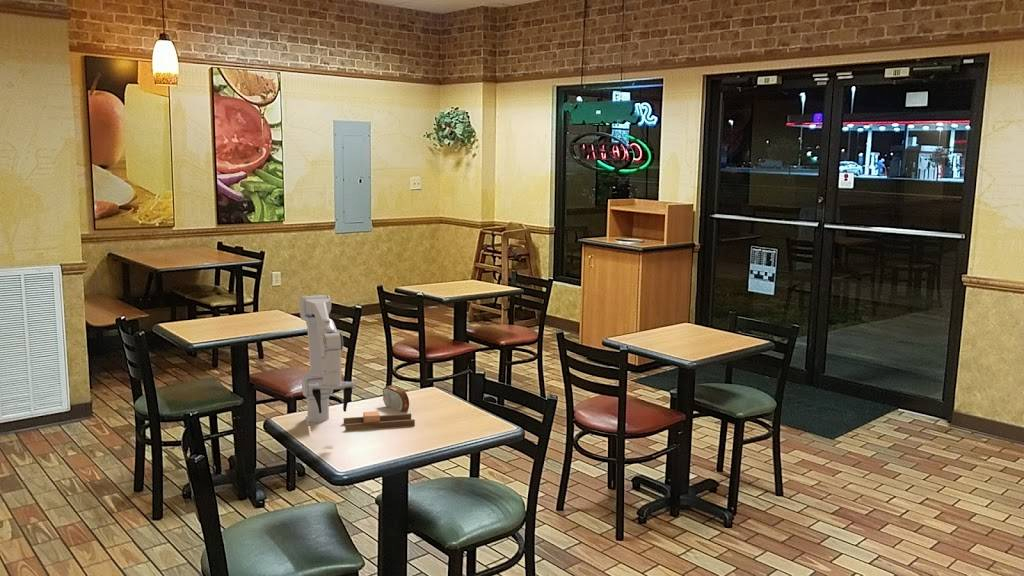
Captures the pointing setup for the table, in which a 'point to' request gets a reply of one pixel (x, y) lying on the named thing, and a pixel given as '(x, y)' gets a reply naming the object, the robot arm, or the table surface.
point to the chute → (385, 422)
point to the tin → (395, 398)
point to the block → (371, 417)
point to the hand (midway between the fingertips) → (332, 411)
